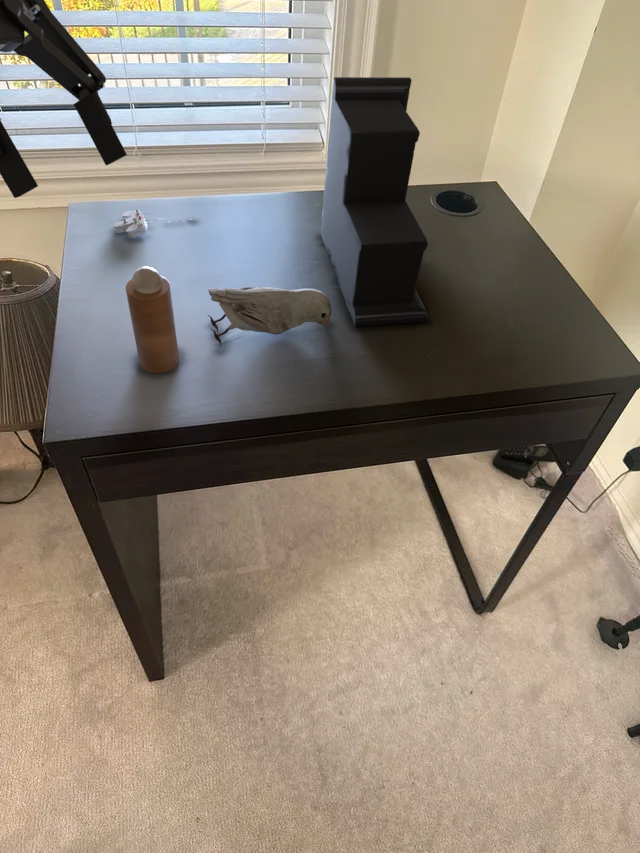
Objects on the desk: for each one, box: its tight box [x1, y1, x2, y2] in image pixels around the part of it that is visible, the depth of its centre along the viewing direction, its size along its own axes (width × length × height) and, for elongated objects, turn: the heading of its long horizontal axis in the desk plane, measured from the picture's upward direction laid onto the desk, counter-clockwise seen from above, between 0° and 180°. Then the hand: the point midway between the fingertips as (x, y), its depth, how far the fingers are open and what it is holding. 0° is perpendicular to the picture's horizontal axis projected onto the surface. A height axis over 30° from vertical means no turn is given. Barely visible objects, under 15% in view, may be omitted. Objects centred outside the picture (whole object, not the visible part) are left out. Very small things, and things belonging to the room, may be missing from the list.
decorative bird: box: [207, 286, 332, 347], centre depth 82 cm, size 5×16×8 cm, turn 105°
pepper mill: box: [125, 266, 180, 374], centre depth 75 cm, size 5×5×13 cm
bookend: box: [320, 76, 430, 327], centre depth 86 cm, size 23×11×24 cm, turn 12°
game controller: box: [112, 209, 193, 239], centre depth 99 cm, size 6×12×3 cm, turn 129°
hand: (75, 175), depth 64 cm, fingers open, 13 cm apart
